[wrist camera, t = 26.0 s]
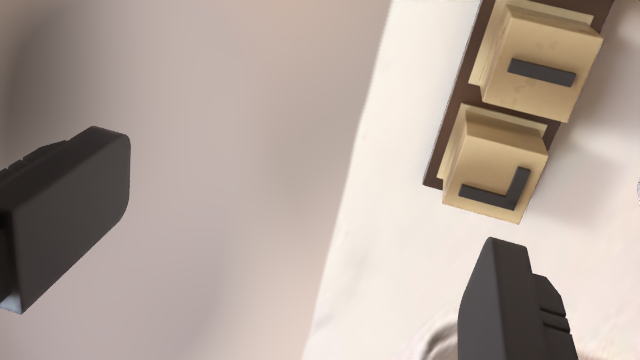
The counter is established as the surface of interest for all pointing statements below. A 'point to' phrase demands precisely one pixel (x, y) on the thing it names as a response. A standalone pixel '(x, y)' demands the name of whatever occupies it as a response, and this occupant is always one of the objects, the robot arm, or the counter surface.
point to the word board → (573, 3)
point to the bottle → (639, 189)
